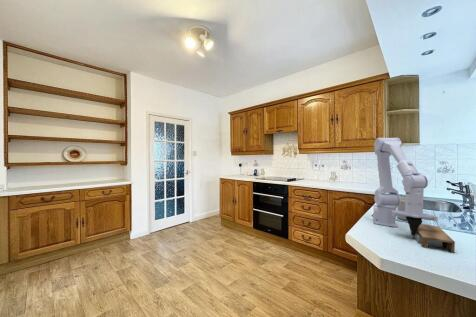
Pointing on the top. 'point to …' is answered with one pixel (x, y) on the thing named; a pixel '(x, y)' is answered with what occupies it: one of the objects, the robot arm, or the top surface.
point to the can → (402, 207)
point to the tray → (430, 242)
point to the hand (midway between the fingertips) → (413, 234)
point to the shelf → (435, 236)
